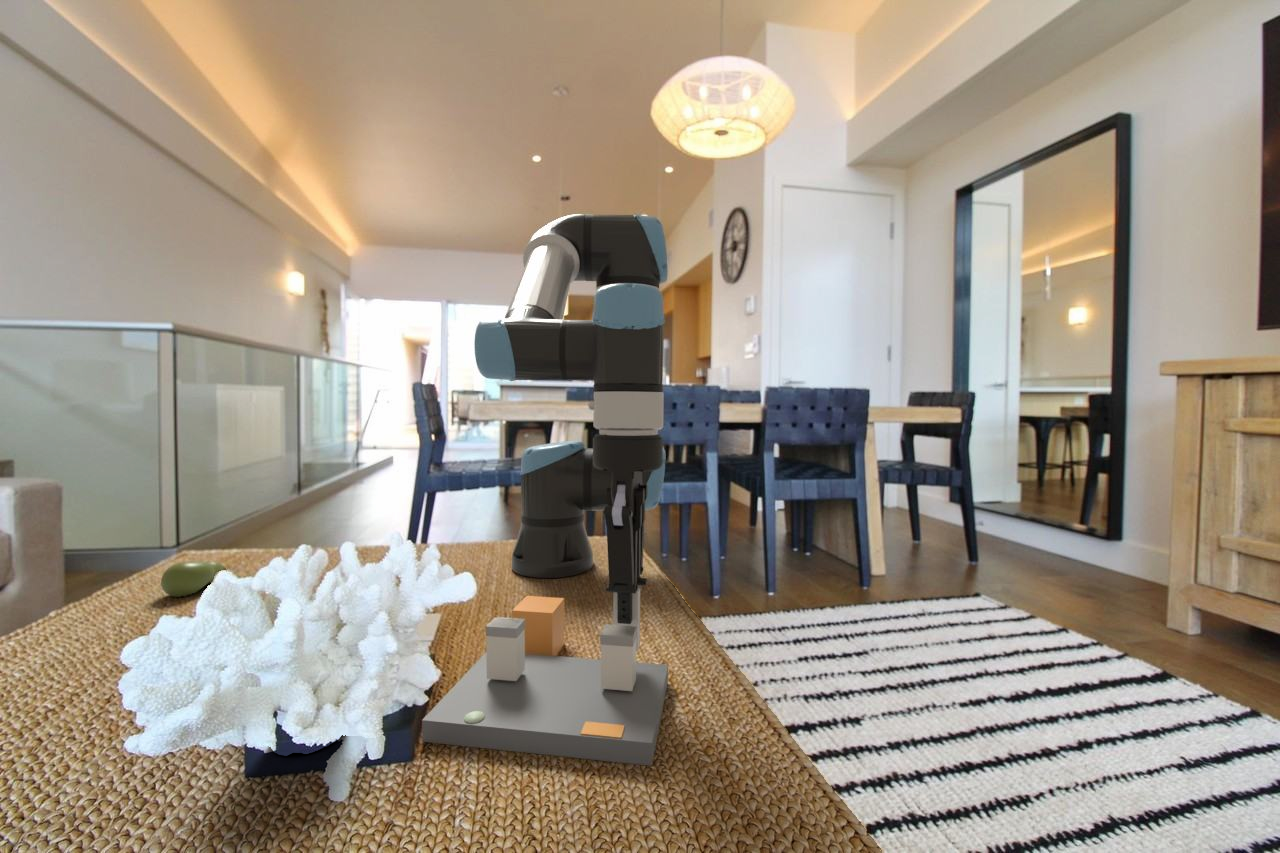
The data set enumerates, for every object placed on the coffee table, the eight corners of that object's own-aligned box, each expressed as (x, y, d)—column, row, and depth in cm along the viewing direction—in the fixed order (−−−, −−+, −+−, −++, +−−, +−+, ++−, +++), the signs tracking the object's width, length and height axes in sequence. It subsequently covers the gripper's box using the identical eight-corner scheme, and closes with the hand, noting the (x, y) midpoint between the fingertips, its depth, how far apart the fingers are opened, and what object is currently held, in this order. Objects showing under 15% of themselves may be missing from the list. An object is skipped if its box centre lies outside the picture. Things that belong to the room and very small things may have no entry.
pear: (153, 564, 84) (204, 556, 94) (149, 599, 83) (201, 588, 93) (189, 564, 84) (237, 556, 94) (185, 599, 83) (234, 588, 93)
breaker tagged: (605, 676, 57) (605, 624, 57) (636, 678, 56) (636, 626, 56) (599, 688, 54) (600, 634, 54) (632, 691, 54) (633, 636, 54)
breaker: (495, 667, 59) (495, 616, 58) (525, 669, 58) (525, 618, 58) (485, 678, 56) (485, 626, 56) (516, 681, 56) (516, 628, 55)
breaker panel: (487, 667, 63) (487, 649, 63) (667, 682, 60) (668, 663, 60) (422, 741, 49) (422, 719, 49) (651, 765, 46) (652, 741, 46)
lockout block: (526, 641, 70) (526, 595, 70) (564, 644, 70) (564, 598, 69) (512, 659, 66) (512, 610, 65) (552, 662, 65) (552, 613, 65)
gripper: (606, 429, 66) (605, 622, 67) (578, 435, 53) (577, 674, 54) (668, 430, 65) (666, 626, 66) (655, 436, 52) (653, 680, 53)
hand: (626, 647), depth 60 cm, fingers closed
